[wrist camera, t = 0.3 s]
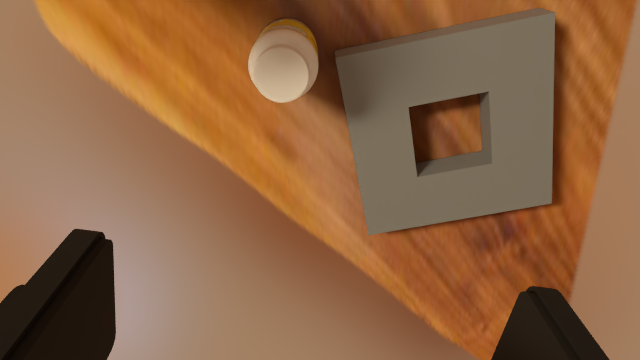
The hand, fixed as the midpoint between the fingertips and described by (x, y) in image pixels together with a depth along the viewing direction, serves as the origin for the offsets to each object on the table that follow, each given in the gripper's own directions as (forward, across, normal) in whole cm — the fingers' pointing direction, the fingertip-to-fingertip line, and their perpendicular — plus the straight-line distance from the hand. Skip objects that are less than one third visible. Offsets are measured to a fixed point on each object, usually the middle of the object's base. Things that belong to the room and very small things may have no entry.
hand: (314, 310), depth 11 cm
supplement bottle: (+35, +2, 0) cm, 35 cm away
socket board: (+35, -14, +5) cm, 38 cm away
